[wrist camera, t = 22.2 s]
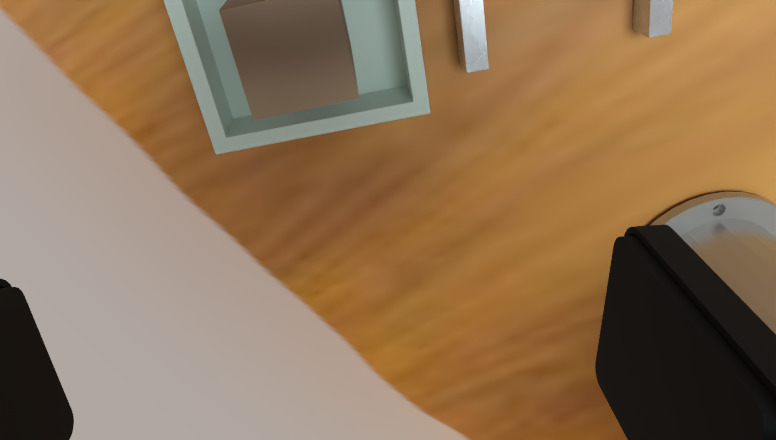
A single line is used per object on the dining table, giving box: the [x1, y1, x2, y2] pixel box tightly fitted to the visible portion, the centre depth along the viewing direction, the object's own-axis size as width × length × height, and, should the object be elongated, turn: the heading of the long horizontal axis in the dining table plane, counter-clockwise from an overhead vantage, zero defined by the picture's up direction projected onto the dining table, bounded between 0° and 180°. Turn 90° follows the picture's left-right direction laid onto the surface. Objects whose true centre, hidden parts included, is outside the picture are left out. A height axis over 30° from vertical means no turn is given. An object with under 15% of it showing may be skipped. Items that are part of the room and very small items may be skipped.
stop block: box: [219, 0, 359, 121], centre depth 28 cm, size 4×4×9 cm
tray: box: [164, 0, 430, 154], centre depth 31 cm, size 12×12×4 cm
